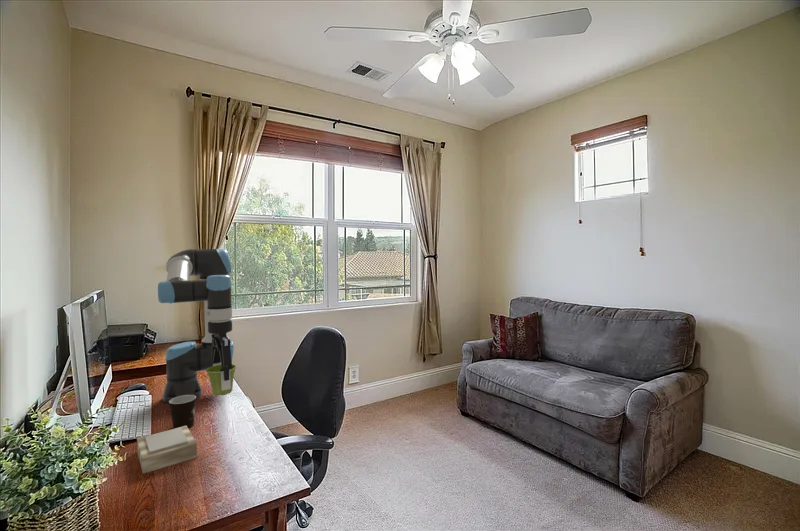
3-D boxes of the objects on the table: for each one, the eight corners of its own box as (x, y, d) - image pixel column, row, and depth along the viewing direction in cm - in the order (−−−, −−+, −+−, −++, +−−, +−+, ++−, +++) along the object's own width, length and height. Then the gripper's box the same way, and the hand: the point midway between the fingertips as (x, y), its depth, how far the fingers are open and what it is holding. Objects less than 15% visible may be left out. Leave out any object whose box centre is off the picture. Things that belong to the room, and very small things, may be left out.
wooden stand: (137, 451, 123) (136, 436, 123) (186, 438, 132) (186, 423, 132) (142, 473, 111) (142, 456, 111) (197, 457, 120) (196, 441, 120)
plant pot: (218, 400, 127) (217, 373, 126) (201, 394, 132) (200, 369, 131) (242, 391, 135) (242, 366, 134) (226, 386, 140) (225, 362, 139)
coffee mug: (185, 432, 136) (184, 404, 136) (164, 430, 138) (163, 403, 138) (207, 418, 148) (207, 392, 147) (188, 417, 149) (187, 391, 149)
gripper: (200, 317, 138) (202, 379, 139) (216, 326, 121) (218, 397, 122) (222, 315, 143) (224, 375, 144) (241, 323, 126) (243, 391, 127)
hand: (221, 385), depth 133 cm, fingers closed on plant pot, 9 cm apart
